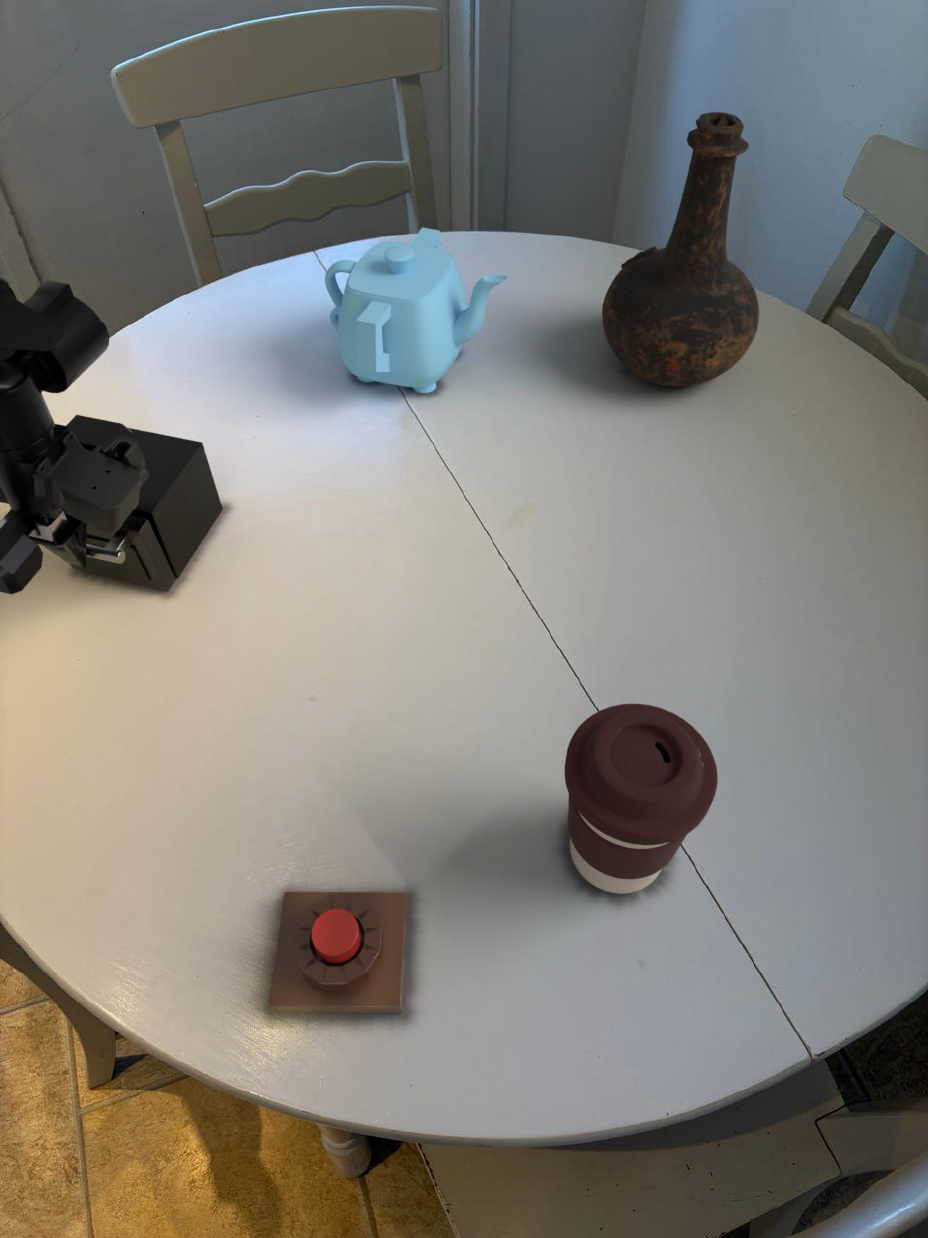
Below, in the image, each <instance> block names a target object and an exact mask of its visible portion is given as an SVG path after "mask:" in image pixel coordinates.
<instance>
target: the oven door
mask: <svg viewBox="0 0 928 1238" xmlns="http://www.w3.org/2000/svg"><path fill="white" fill-rule="evenodd" d="M86 563H87V568H86V569H85V571H84V572H83V573H87V574H91V575H95V576H100V577H104V578H108V579H111V580H115V581H122V582H126V583H130V584H133V585H137V586H142V587H147V588H151V589H156V590H159V591H164V592H169V591H170V590H171V588H172V587H173V585H174V583H175V582H176V580H177V578H175V577H174V575H173V572H172V570H171V568H170V566H169V564H168V562H167V560H166V557H165V555H164V553H163V551H162V549H161V547H160V545H159V542H158V540H157V538H156V536H155V534H154V532H153V529H152V527H151V525H150V523H149V521H148V520H147V519H142V518H138V517H133V516H128V517H127V518H126V520H125V521H124V523H123V525H122V526H121V528H120V529H119V530H118V531H116V532H114V533H104V532H101V531H99V530H97V529H96V528H95V527H93V526H91V525H89V524H87V530H86Z"/></svg>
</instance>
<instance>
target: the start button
mask: <svg viewBox="0 0 928 1238" xmlns="http://www.w3.org/2000/svg"><path fill="white" fill-rule="evenodd" d="M311 936H312V941H313V944H314V946H315V949H316V951H317V953H318V955H319V956H320V957H321V958H322V959H323V960H325V961H327V962H329V963H342V962H345V961H347V960H349V959H350V958H351V957H353V956H354V955H355V953H356V952H357V950H358V948H359V946H360V942H361V934H360V930H359V927H358V923H357V921H356V919H355V917H354V916H353V915H352V914H351V913H349V912H348V911H346V910H343V909H331V910H328V911H326V912H324V913H323V914H321V915H320V916H319V917H318V918H317V919H316V921H315V923H314V925H313V927H312V932H311Z"/></svg>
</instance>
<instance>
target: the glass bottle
mask: <svg viewBox="0 0 928 1238" xmlns="http://www.w3.org/2000/svg"><path fill="white" fill-rule="evenodd" d="M695 124H696V128H695V129H691V131H689V132H688V134H687V138H686V142H687V145H688V147H690V148H691V149H692V153H691V158H690V161H689V166H688V170H687V175H686V180H685V183H684V187H683V191H682V194H681V200H680V203H679V206H678V209H677V213H676V217H675V220H674V223H673V226H672V230H671V232H670V236H669V238H668V241H667V242H666V245H665V247H663V248H659V249H658V247H657V246H656V245H653V246H651V247H649V248H647V249H645V250H644V251H642V250H641V251H639V252H637V253H636V254H635V255H634V256H633V257H631V258H629V259H626V261H624V263H621V266H620V268H621V269H620V270H619V272H618V273H617V274H616V275H615V276H614V278H613V279H612V281H611V282H610V285H609V287H608V288H607V291H606V292H605V293H606V294H605V295H604V299H603V303H602V310H601V317H602V318H601V320H602V327H603V331H604V335H605V338H606V341H607V343H608V345H609V347H610V349H611V351H612V352H613V354H614V355H615V357H616V358H617V359H618V361H619V362H620V363H621V364H622V365H623V366H624V367H625V368H626V369H627V370H628V371H630V372H631V373H632V374H633V375H635V376H636V377H638V378H640V379H642V380H644V381H646V382H649V383H652V384H655V385H658V386H659V385H660V386H663V387H674V388H677V387H678V388H679V387H680V388H681V387H690V386H691V387H692V386H696V385H700V384H704V383H706V382H709V381H712V380H715V379H717V378H718V377H720V376H722V375H724V374H725V373H726V372H727V371H729V370H730V369H732V368H733V367H734V366H735V365H736V364H738V362H739V361H740V360H741V359H742V358H743V357H744V356H745V355H746V354H747V352H748V351H749V349H750V347H751V346H752V343H753V342H754V339H755V337H756V334H757V331H758V329H759V328H758V326H759V321H760V320H759V319H760V306H759V300H758V296H757V293H756V290H755V287H754V286H753V284H752V282H751V281H750V279H749V277H747V276H746V274H745V273H744V272H743V271H742V270H741V269H740V268H739V267H738V266H737V265H736V264H734V263H733V262H732V261H730V260H728V255H727V254H728V253H727V234H728V224H729V223H728V222H729V211H730V201H731V195H732V188H733V182H734V175H735V170H736V164H737V158H738V156H739V155H742V154H745V153H746V152H747V151H748V149H749V147H750V144H749V142H748V141H747V140H745V139H744V138H743V137H742V134H743V131H744V128H745V125H744V123H743V121H742V120H741V119H740V118H739V116H737V115H735V114H732V113H728V112H722V111H710V112H706V113H701V114H700V116H699V117H698V118H697V119H696V120H695Z"/></svg>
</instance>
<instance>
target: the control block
mask: <svg viewBox="0 0 928 1238" xmlns="http://www.w3.org/2000/svg"><path fill="white" fill-rule="evenodd" d="M408 903H409V900H408V895H407V892H399V891H398V892H396V891H395V892H394V891H393V892H390V891H389V892H388V891H387V892H382V891H381V892H380V891H379V892H378V891H377V892H376V891H375V892H373V891H368V892H363V891H362V892H361V891H357V892H356V891H355V892H352V891H349V892H348V891H346V892H345V891H330V892H329V891H285V892H284V895H283V902H282V909H281V917H280V925H279V931H278V938H277V939H278V940H277V944H276V945H277V946H276V952H275V961H274V968H273V974H272V982H271V991H270V998H269V1008H270V1009H271V1010H272V1012H273V1013H277V1014H278V1013H280V1014H281V1013H283V1014H285V1013H287V1014H294V1013H295V1014H403V1011H404V1009H403V1008H404V989H405V988H404V987H405V969H406V968H405V967H406V948H407V946H406V945H407V925H408V908H409V907H408V906H409V905H408ZM331 909H343V910H346V911H348V912H349V913H351V914H352V915H353V916H354V917H355V919H356V921H357V923H358V927H359V930H360V934H361V942H360V946H359V948H358V950H357V952H356V953H355V955H354V956H353V957H351V958H350V959H349V960H347V961H345V962H342V963H329V962H327V961H325V960H323V959H322V958H321V957H320V956H319V955H318V953H317V951H316V949H315V946H314V944H313V941H312V936H311V932H312V927H313V925H314V923H315V921H316V919H317V918H318V917H319V916H320V915H321V914H323V913H324V912H326V911H328V910H331Z"/></svg>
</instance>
